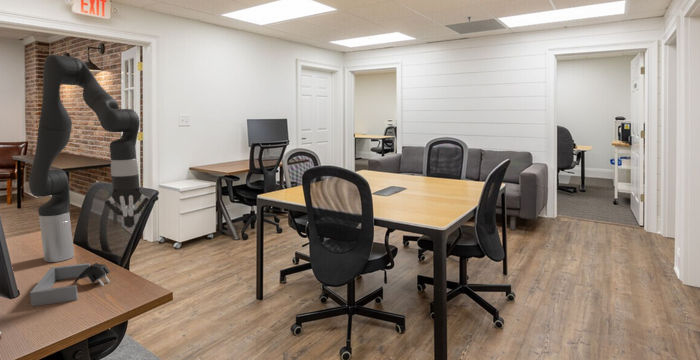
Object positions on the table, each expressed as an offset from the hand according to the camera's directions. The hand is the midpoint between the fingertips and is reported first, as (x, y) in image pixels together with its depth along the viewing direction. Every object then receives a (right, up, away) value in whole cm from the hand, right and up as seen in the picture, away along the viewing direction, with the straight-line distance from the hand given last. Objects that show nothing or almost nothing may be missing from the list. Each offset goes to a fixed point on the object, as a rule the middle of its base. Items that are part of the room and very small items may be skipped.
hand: (129, 227), depth 134 cm
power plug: (-13, -18, +1) cm, 22 cm away
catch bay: (-18, -19, -4) cm, 26 cm away
